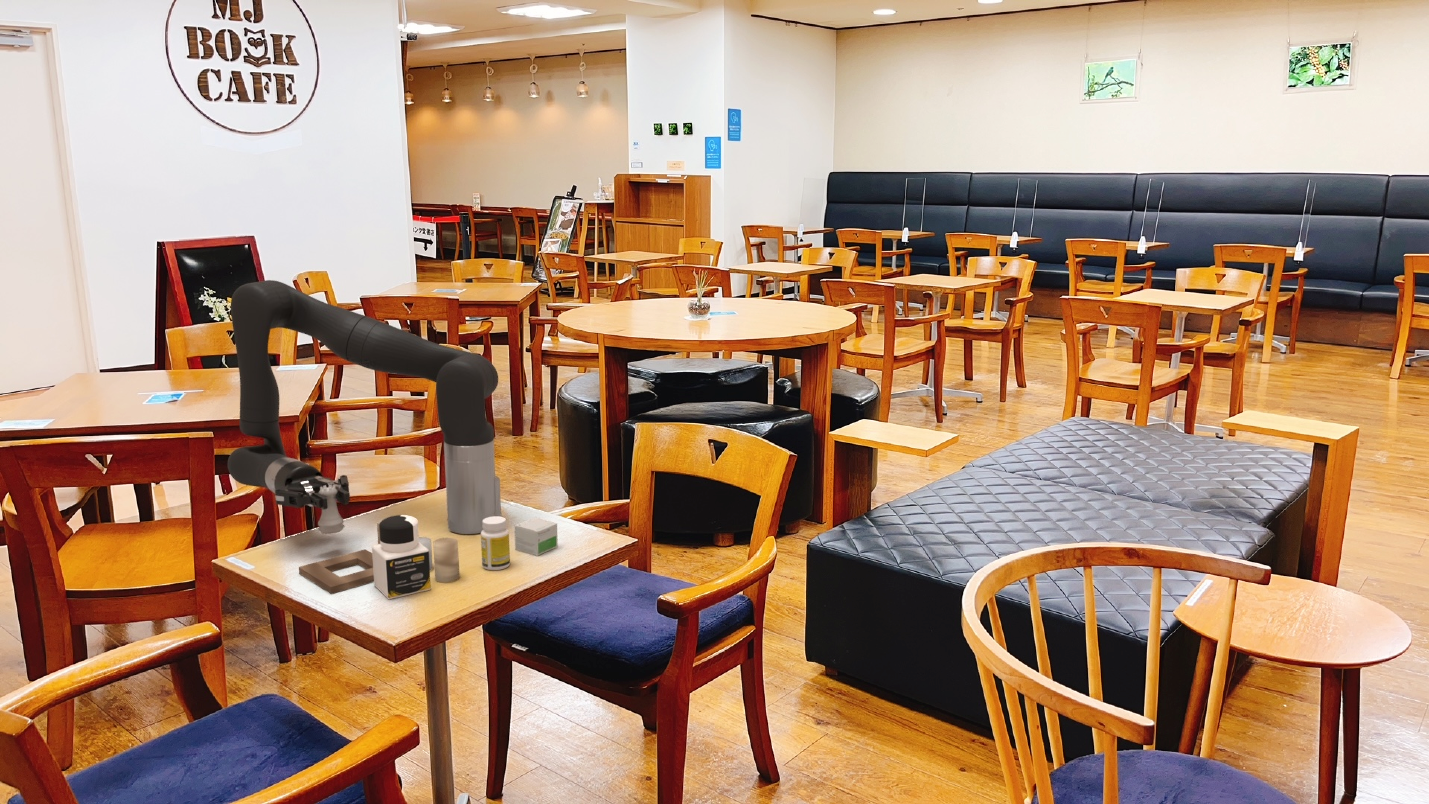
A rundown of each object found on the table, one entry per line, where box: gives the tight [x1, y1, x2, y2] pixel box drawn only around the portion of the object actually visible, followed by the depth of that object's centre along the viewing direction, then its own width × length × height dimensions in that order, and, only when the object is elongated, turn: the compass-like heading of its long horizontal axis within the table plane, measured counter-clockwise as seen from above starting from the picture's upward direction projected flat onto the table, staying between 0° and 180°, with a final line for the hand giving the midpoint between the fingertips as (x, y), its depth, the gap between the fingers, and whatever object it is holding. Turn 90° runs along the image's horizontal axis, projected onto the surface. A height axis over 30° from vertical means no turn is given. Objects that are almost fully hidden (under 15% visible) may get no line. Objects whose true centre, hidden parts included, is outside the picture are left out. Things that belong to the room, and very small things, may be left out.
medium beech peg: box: [432, 537, 461, 584], centre depth 172 cm, size 4×4×6 cm
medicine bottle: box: [371, 514, 432, 600], centre depth 167 cm, size 7×7×12 cm
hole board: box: [298, 521, 381, 595], centre depth 173 cm, size 12×12×9 cm
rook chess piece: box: [317, 485, 345, 535], centre depth 181 cm, size 4×4×8 cm
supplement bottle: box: [480, 516, 511, 571], centre depth 177 cm, size 5×5×8 cm
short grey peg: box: [419, 536, 434, 571], centre depth 176 cm, size 4×4×5 cm
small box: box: [514, 516, 558, 557], centre depth 186 cm, size 6×6×5 cm
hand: (336, 501), depth 178 cm, fingers closed on rook chess piece, 3 cm apart
